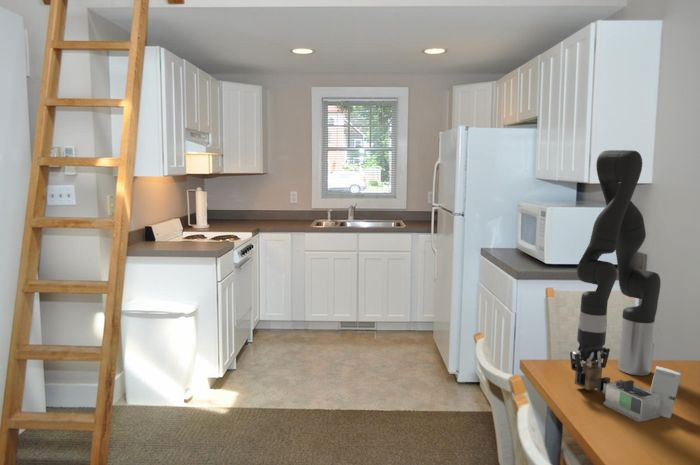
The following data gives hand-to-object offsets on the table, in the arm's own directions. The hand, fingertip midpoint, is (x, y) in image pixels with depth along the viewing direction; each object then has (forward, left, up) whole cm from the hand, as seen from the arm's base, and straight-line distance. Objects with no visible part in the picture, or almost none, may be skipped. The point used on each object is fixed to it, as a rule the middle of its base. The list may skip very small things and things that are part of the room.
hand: (587, 383), depth 160 cm
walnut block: (0, 0, -1) cm, 1 cm away
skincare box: (-6, +18, -2) cm, 20 cm away
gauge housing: (0, +14, -2) cm, 15 cm away
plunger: (+1, +10, 0) cm, 10 cm away
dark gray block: (+3, +16, +4) cm, 17 cm away
